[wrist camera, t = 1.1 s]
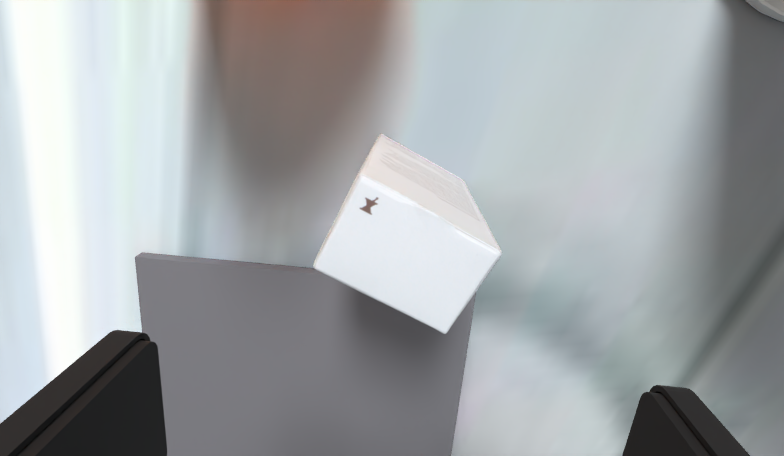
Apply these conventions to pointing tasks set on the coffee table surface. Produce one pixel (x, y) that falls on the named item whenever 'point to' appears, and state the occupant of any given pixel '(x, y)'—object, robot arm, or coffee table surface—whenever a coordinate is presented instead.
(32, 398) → the robot arm
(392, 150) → the skincare box
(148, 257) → the mat
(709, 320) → the coffee table surface
